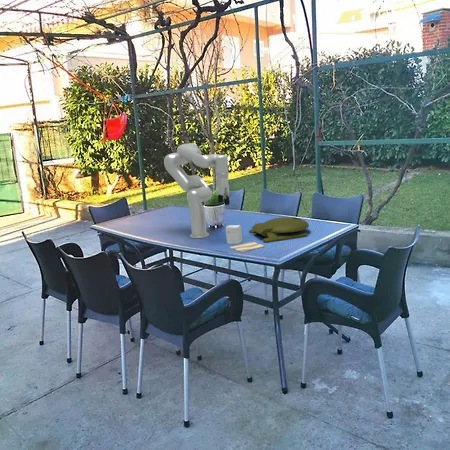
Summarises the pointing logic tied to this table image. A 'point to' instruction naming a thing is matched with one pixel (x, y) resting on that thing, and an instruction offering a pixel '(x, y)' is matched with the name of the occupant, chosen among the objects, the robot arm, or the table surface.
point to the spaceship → (280, 228)
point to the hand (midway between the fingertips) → (223, 203)
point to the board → (247, 246)
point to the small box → (233, 234)
